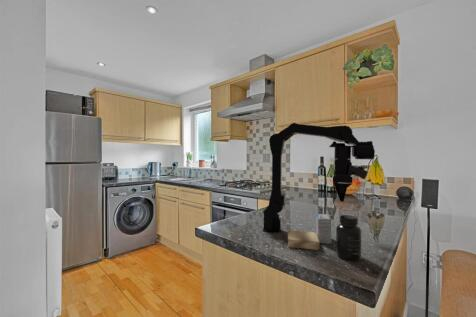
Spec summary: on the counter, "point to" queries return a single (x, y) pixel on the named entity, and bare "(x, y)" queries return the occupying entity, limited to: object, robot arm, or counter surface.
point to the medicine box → (323, 228)
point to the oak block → (303, 239)
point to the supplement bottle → (348, 238)
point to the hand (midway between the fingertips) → (341, 199)
